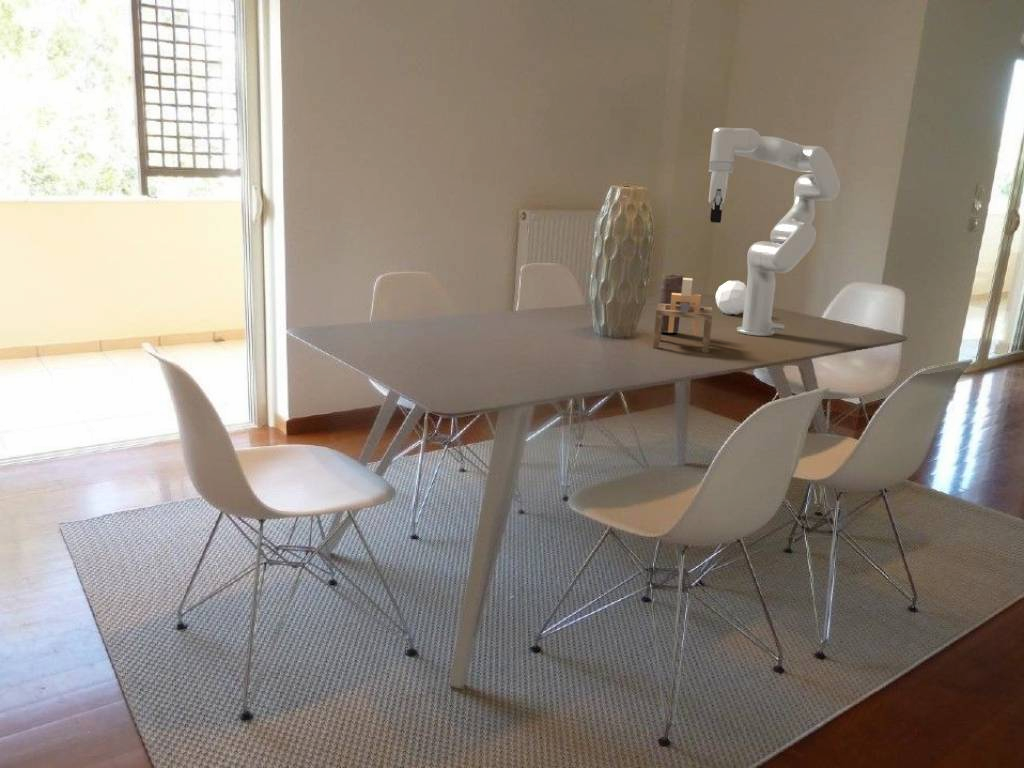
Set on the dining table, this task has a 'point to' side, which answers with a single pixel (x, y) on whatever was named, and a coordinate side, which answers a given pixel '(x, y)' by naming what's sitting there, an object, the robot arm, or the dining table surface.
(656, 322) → the shelf
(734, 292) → the geodesic sphere
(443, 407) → the dining table surface
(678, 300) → the orange cream legged block
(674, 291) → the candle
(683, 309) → the long charcoal crossbeam
